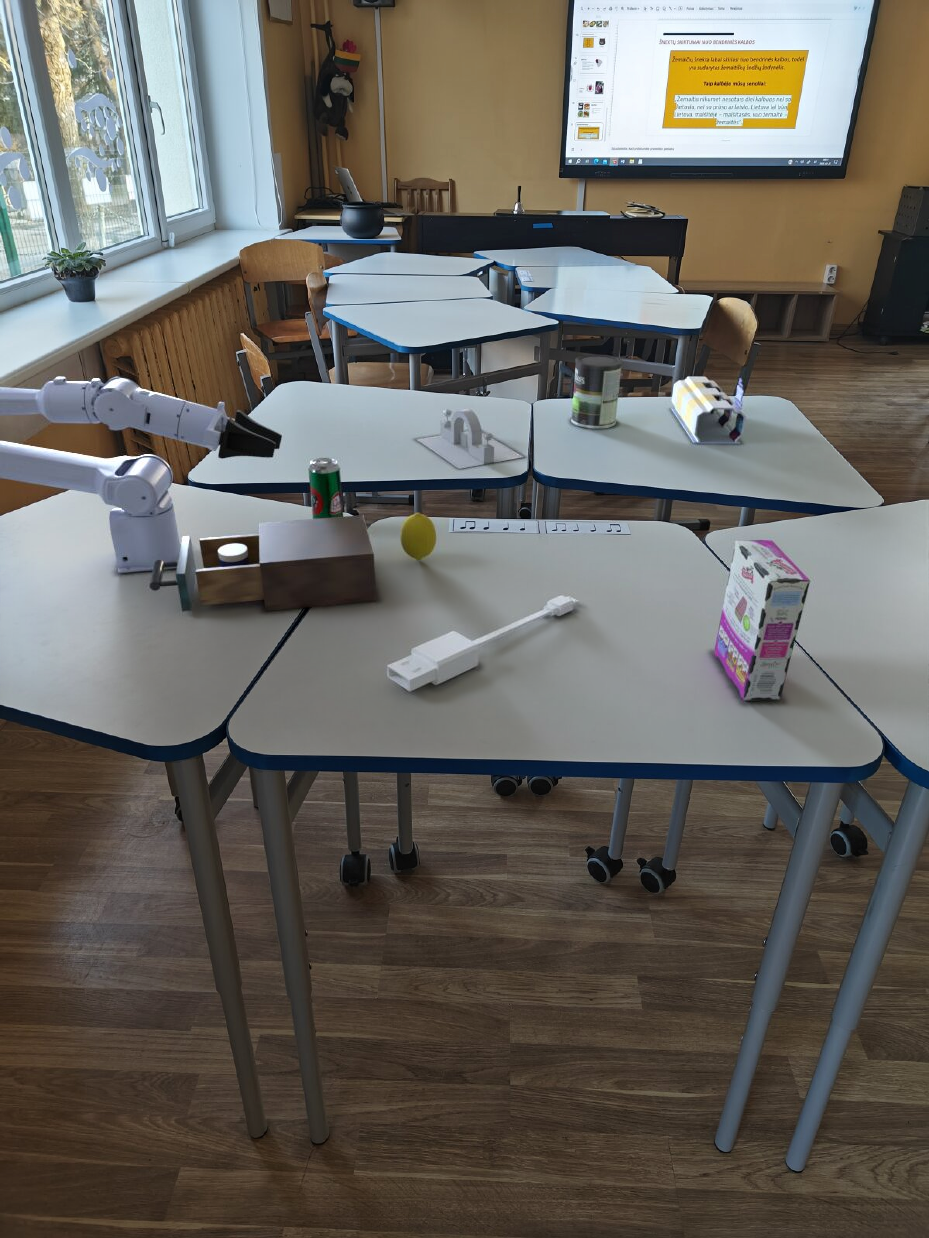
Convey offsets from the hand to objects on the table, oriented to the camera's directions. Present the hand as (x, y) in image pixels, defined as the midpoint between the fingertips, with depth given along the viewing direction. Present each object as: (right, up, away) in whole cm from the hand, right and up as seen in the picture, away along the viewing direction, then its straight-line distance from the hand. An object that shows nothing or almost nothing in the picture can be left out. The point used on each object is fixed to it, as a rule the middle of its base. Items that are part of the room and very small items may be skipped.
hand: (277, 446), depth 125 cm
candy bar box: (+63, -33, -18) cm, 73 cm away
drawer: (-8, -21, -1) cm, 22 cm away
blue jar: (-6, -20, -1) cm, 20 cm away
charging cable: (+31, -29, -12) cm, 44 cm away
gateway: (+28, +11, +55) cm, 63 cm away
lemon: (+20, -16, +9) cm, 28 cm away
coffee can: (+57, +20, +71) cm, 93 cm away
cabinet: (+6, -20, +2) cm, 21 cm away
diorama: (+82, +19, +70) cm, 109 cm away
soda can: (+5, -11, +19) cm, 22 cm away
